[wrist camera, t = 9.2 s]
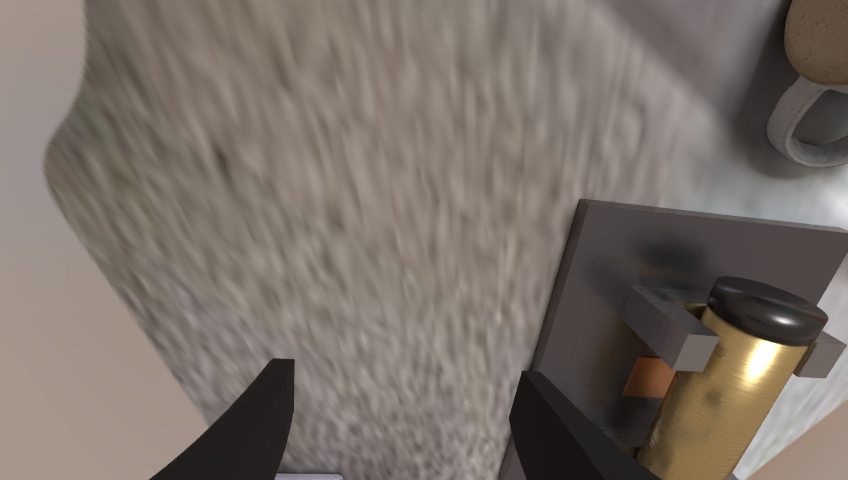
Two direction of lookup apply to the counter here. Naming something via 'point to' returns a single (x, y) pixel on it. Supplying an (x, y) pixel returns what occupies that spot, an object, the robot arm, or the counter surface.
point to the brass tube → (730, 380)
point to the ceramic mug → (812, 77)
